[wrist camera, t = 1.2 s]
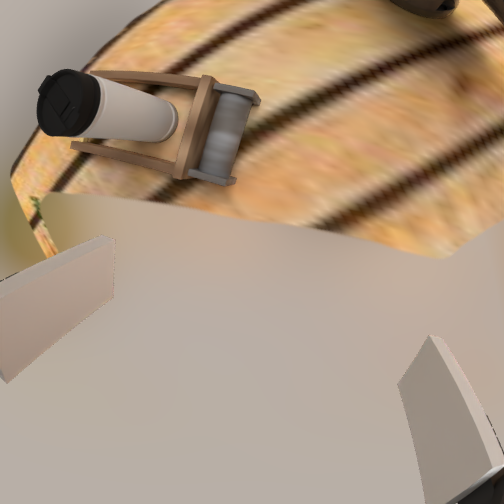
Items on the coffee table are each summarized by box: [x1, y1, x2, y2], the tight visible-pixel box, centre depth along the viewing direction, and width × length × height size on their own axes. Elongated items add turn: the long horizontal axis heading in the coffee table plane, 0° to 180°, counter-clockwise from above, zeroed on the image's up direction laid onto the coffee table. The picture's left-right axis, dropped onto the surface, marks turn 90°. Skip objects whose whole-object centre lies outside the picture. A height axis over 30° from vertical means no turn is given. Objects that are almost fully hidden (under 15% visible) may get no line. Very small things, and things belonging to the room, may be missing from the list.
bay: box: [70, 71, 261, 186], centre depth 33 cm, size 13×27×5 cm, turn 73°
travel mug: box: [37, 69, 178, 143], centre depth 26 cm, size 6×7×20 cm
